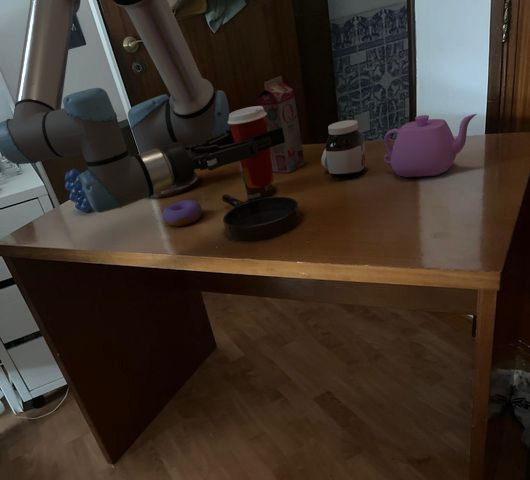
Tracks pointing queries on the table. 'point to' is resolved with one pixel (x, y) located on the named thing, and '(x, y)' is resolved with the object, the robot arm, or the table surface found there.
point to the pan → (262, 218)
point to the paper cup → (245, 127)
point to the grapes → (76, 191)
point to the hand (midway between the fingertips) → (272, 132)
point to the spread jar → (344, 150)
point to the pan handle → (232, 200)
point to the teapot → (425, 146)
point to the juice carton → (282, 124)
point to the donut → (182, 213)
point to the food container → (257, 190)
